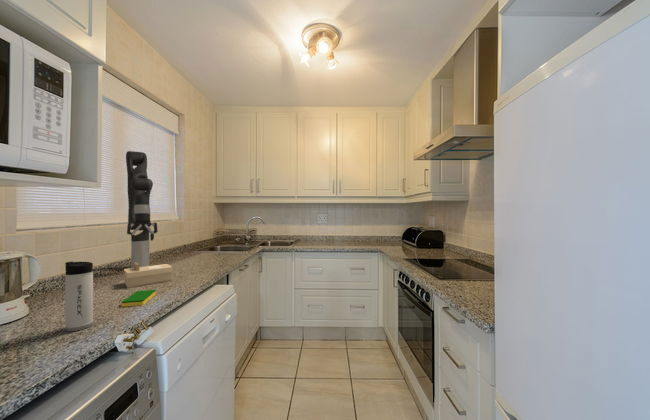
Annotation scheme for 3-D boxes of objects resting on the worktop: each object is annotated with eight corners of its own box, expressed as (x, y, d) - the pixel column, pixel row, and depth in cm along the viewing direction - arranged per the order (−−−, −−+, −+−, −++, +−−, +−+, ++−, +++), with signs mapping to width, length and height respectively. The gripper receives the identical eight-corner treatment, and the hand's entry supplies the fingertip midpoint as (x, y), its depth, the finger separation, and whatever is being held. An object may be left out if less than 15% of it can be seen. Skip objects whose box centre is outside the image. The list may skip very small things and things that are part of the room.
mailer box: (124, 283, 130) (124, 271, 130) (166, 277, 143) (166, 266, 143) (127, 288, 123) (127, 275, 123) (171, 280, 135) (171, 269, 135)
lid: (123, 274, 131) (123, 263, 131) (166, 268, 144) (166, 258, 144) (127, 278, 122) (127, 266, 122) (172, 271, 135) (172, 261, 135)
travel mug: (76, 323, 84) (75, 260, 84) (98, 322, 85) (98, 259, 85) (58, 332, 78) (57, 264, 78) (82, 331, 79) (81, 263, 79)
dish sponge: (121, 308, 99) (121, 301, 99) (136, 296, 112) (136, 290, 112) (143, 306, 101) (143, 299, 101) (156, 295, 114) (156, 289, 114)
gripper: (155, 213, 161) (155, 240, 160) (126, 213, 151) (126, 242, 150) (158, 212, 155) (158, 240, 154) (128, 212, 145) (128, 242, 145)
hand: (142, 241), depth 152 cm, fingers open, 8 cm apart
